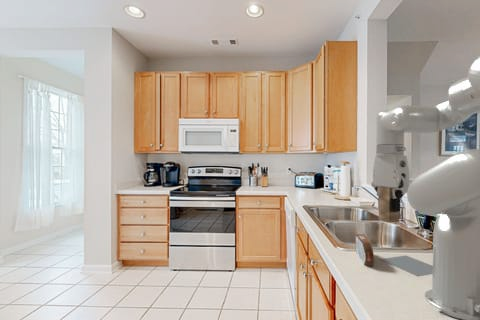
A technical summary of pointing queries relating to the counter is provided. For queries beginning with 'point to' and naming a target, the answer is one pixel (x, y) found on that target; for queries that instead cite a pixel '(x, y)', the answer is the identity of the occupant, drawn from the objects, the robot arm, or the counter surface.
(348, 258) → the counter surface
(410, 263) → the mat
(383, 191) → the block
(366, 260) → the tin
